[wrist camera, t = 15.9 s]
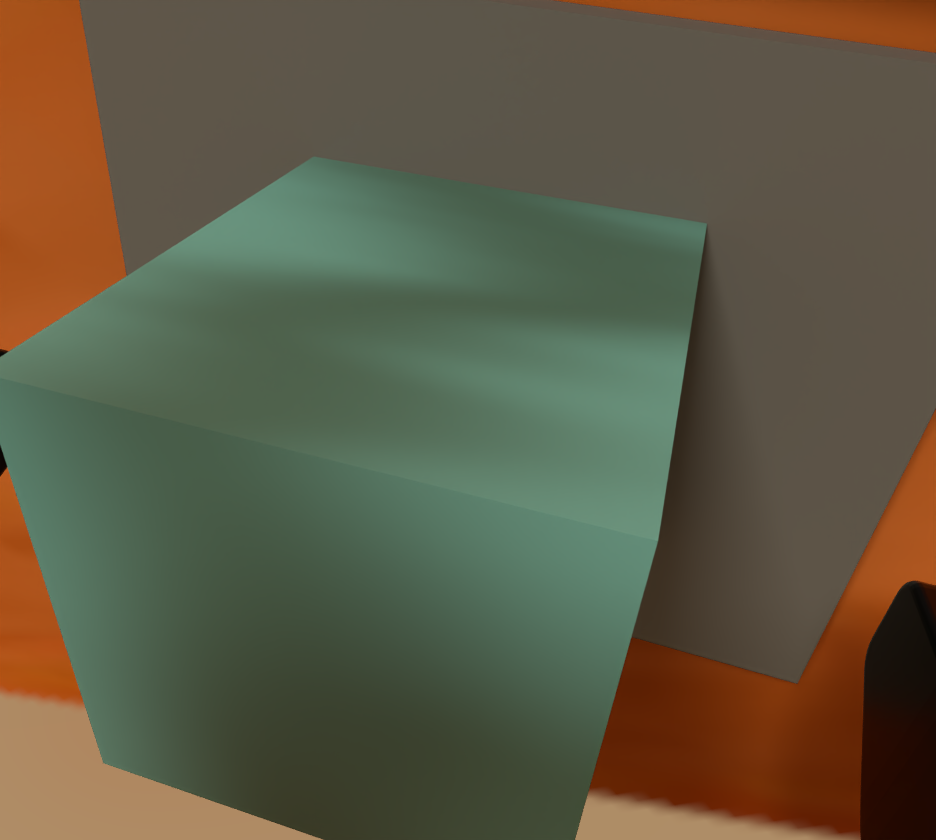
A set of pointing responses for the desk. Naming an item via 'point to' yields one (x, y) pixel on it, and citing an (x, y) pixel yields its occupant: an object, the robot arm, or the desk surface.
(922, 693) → the robot arm
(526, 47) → the mat
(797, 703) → the desk surface
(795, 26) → the desk surface
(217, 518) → the block
